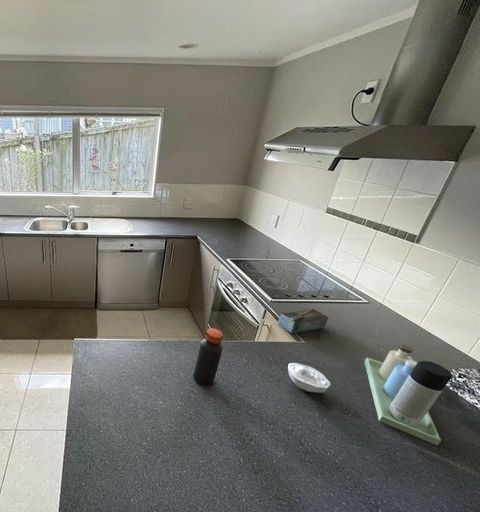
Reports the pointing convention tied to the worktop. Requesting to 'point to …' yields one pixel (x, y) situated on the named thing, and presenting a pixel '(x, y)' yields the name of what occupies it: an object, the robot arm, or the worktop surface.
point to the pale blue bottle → (398, 378)
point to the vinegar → (208, 358)
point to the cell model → (308, 378)
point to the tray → (383, 402)
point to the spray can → (419, 392)
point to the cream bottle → (394, 361)
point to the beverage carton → (302, 320)
